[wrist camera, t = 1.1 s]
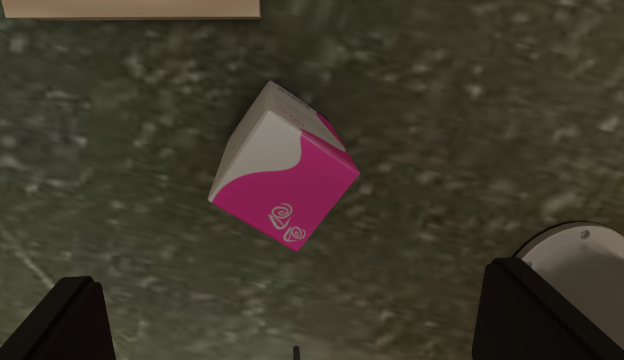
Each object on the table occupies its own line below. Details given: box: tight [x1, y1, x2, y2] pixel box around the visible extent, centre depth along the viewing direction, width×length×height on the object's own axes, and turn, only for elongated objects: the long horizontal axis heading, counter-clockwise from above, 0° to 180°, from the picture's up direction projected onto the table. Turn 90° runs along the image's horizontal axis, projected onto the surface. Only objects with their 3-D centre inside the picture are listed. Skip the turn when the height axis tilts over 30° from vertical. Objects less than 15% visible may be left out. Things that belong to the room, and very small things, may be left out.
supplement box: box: [208, 79, 360, 252], centre depth 26 cm, size 6×6×12 cm
